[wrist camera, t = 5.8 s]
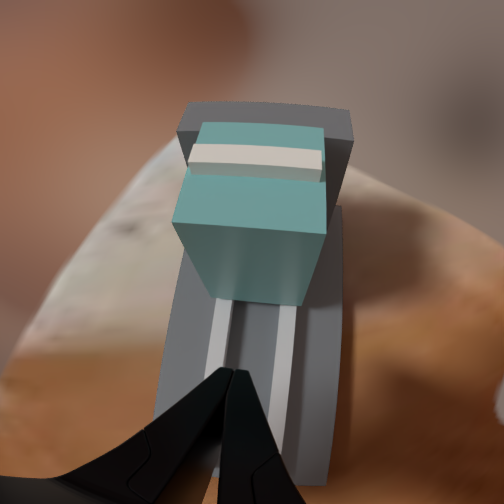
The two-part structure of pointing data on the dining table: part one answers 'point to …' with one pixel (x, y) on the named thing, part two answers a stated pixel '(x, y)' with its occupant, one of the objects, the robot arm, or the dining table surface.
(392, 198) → the dining table surface
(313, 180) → the fader knob
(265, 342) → the fader track
